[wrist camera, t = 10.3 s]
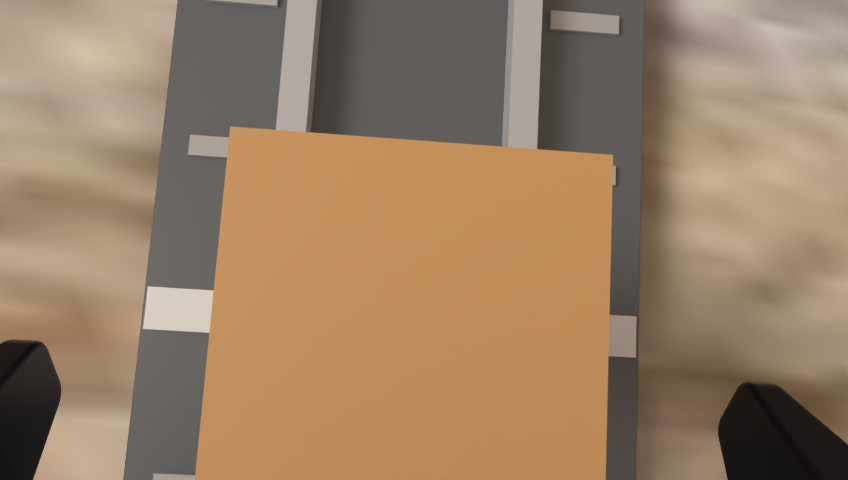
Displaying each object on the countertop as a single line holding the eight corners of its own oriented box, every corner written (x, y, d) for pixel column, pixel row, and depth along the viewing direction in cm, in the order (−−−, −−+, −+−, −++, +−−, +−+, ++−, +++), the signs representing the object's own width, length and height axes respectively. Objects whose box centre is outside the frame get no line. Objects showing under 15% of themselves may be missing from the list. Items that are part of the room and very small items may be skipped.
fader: (473, 424, 16) (637, 618, 5) (304, 415, 15) (144, 599, 5) (481, 241, 16) (646, 103, 6) (319, 230, 16) (200, 69, 6)
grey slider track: (613, 703, 16) (664, 788, 13) (118, 687, 16) (55, 773, 13) (631, -179, 19) (676, -270, 16) (218, -221, 19) (186, -324, 16)
